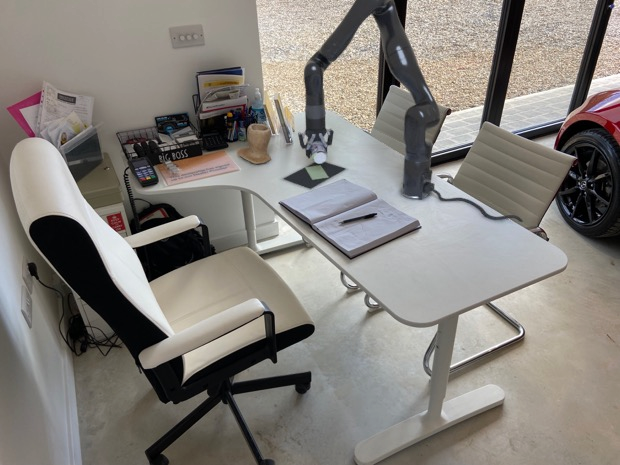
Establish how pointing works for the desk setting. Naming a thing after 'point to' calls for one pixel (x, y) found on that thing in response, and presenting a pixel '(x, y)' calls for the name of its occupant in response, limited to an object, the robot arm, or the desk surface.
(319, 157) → the beverage can
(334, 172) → the desk mat
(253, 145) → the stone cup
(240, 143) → the desk surface
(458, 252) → the desk surface
